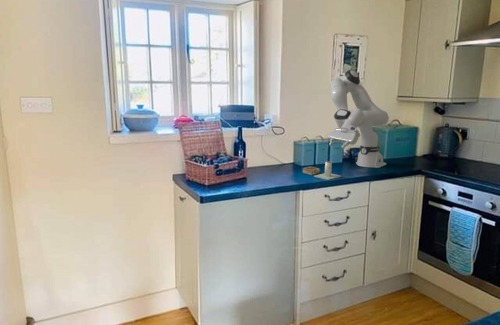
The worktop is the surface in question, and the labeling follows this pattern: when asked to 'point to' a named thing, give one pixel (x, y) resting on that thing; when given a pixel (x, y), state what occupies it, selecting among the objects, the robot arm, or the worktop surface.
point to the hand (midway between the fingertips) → (336, 146)
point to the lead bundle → (328, 168)
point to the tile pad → (327, 177)
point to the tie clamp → (311, 170)
